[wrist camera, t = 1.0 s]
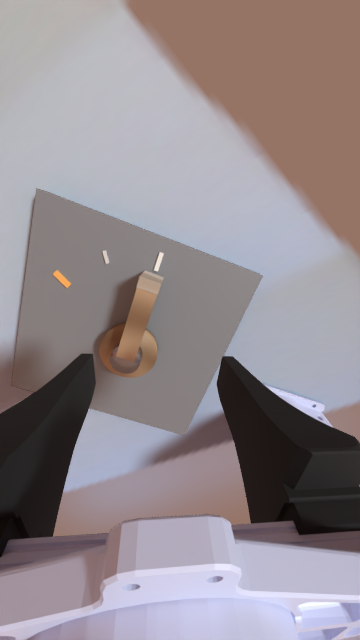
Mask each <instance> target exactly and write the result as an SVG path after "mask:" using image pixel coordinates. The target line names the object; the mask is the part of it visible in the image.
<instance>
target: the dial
mask: <svg viewBox="0 0 360 640" xmlns="http://www.w3.org/2000/svg"><path fill="white" fill-rule="evenodd" d="M163 279H164V277H162V276H159V275H156V274H154V273H151V272H148V271H144V272H143V273H142V274H141V275H140V277H139V280H138V283H137V289H136V292H135V295H134V299H133V302H132V305H131V308H130V312H129V315H128V318H127V322H126V323H120V324H117V325H115V326H113V327H112V328H111V329H110V330H109V331H108V332H107V333H106V335H105V336H104V337H103V339H102V341H101V343H100V347H99V353H100V357H101V360H102V362H103V364H104V365H105V366H106V367H107V368H108V369H109V370H110V371H111V372H113V373H114V374H116V375H119V376H122V377H127V378H134V377H139V376H142V375H144V374H146V373H147V372H149V371H150V370H151V369H152V368H153V366H154V364H155V362H156V359H157V354H158V344H157V341H156V339H155V337H154V335H153V334H152V333H151V332H150V331H149V330H148V329H147V328H146V327H147V324H148V321H149V318H150V315H151V312H152V309H153V307H154V304H155V301H156V298H157V295H158V293H159V290H160V288H161V285H162V282H163Z"/></svg>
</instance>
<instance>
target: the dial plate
mask: <svg viewBox="0 0 360 640" xmlns="http://www.w3.org/2000/svg"><path fill="white" fill-rule="evenodd" d="M144 271H148V272H151V273H154V274H156V275H159V276H162V277H164V279H163V282H162V285H161V288H160V290H159V293H158V295H157V298H156V301H155V304H154V307H153V309H152V312H151V315H150V318H149V321H148V324H147V327H146V328H147V329H148V330H149V331H150V332H151V333H152V334H153V335H154V337H155V339H156V341H157V344H158V354H157V359H156V362H155V364H154V366H153V368H152V369H151V370H150V371H149V372H147V373H146V374H144V375H142V376H139V377H134V378H127V377H122V376H119V375H116V374H114V373H113V372H111V371H110V370H109V369H108V368H107V367H106V366H105V365H104V364H103V362H102V360H101V357H100V353H99V347H100V343H101V341H102V339H103V337H104V336H105V335H106V333H107V332H108V331H109V330H110V329H111V328H112V327H113V326H115V325H117V324H120V323H126V322H127V318H128V315H129V312H130V308H131V305H132V302H133V299H134V295H135V292H136V289H137V283H138V280H139V277H140V275H141V274H142V273H143V272H144ZM262 277H263V276H262V275H260V274H259V273H256V272H254V271H251V270H248V269H246V268H243V267H241V266H238V265H235V264H233V263H230V262H228V261H225V260H223V259H220V258H217V257H215V256H212V255H210V254H207V253H204V252H202V251H199V250H197V249H194V248H191V247H189V246H186V245H184V244H181V243H179V242H176V241H173V240H171V239H168V238H166V237H163V236H160V235H158V234H155V233H153V232H150V231H148V230H145V229H142V228H140V227H137V226H135V225H132V224H129V223H127V222H124V221H122V220H119V219H117V218H114V217H111V216H109V215H106V214H104V213H101V212H98V211H96V210H93V209H91V208H88V207H85V206H83V205H80V204H78V203H75V202H73V201H70V200H67V199H65V198H62V197H60V196H57V195H54V194H52V193H49V192H47V191H44V190H40V189H37V188H36V195H35V203H34V211H33V218H32V226H31V234H30V242H29V250H28V257H27V265H26V273H25V281H24V288H23V296H22V304H21V312H20V320H19V327H18V335H17V343H16V351H15V358H14V366H13V374H12V382H11V386H14V387H17V388H21V389H24V390H28V391H31V392H36V391H37V390H39V389H40V388H41V387H43V386H44V385H45V384H46V383H48V382H49V381H50V380H52V379H53V378H54V377H55V376H56V375H58V374H59V373H60V372H61V371H62V370H63V369H64V368H66V367H67V366H68V365H69V364H70V363H71V362H72V361H73V360H74V359H76V358H77V357H78V356H79V355H80V354H81V353H82V354H93V358H94V369H95V379H96V385H95V389H94V394H93V398H92V401H91V404H90V406H89V408H91V409H94V410H97V411H101V412H104V413H108V414H111V415H115V416H118V417H122V418H125V419H129V420H132V421H136V422H139V423H143V424H146V425H150V426H153V427H157V428H160V429H164V430H167V431H171V432H174V433H177V434H181V435H185V433H186V431H187V429H188V427H189V425H190V423H191V421H192V419H193V417H194V415H195V413H196V411H197V409H198V407H199V405H200V403H201V400H202V398H203V396H204V394H205V392H206V390H207V388H208V386H209V384H210V382H211V380H212V378H213V376H214V374H215V372H216V370H217V368H218V366H219V364H220V362H221V360H222V356H224V354H225V352H226V350H227V348H228V346H229V344H230V342H231V340H232V338H233V336H234V334H235V332H236V330H237V328H238V326H239V324H240V322H241V319H242V317H243V315H244V313H245V311H246V309H247V307H248V305H249V303H250V301H251V299H252V297H253V295H254V293H255V291H256V289H257V287H258V285H259V283H260V281H261V279H262Z"/></svg>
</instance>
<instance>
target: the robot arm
mask: <svg viewBox="0 0 360 640" xmlns="http://www.w3.org/2000/svg"><path fill="white" fill-rule="evenodd" d="M95 385H96V379H95V369H94V358H93V354H82V353H81V354H80V355H79V356H78V357H77V358H76V359H74V360H73V361H72V362H71V363H70V364H69V365H68V366H67V367H66V368H64V369H63V370H62V371H61V372H60V373H59V374H58V375H56V376H55V377H54V378H53V379H52V380H50V381H49V382H48V383H46V384H45V385H44V386H43V387H41V388H40V389H39V390H37V391H36V392H35V393H33V394H32V395H30V396H29V397H27V398H26V399H24V400H23V401H21V402H19V403H18V404H16V405H15V406H13V407H11V408H9V409H8V410H6V411H4V412H2V413H1V414H0V640H360V443H359V441H358V440H357V439H356V438H355V437H353V436H351V435H349V434H347V433H344V432H342V431H339V430H337V429H335V428H333V427H332V426H331V424H330V423H329V422H328V420H327V419H326V418H325V416H324V415H323V414H322V412H323V410H324V409H325V406H324V405H323V404H322V403H319V402H316V401H313V400H310V399H307V398H304V397H301V396H298V395H295V394H291V393H288V392H285V391H282V390H279V389H276V388H273V387H270V386H267V385H264V384H262V383H261V382H260V381H259V380H258V379H256V378H255V377H254V376H253V375H252V374H251V373H250V372H249V371H248V370H247V369H246V368H244V367H243V366H242V365H241V364H240V363H239V362H238V361H237V360H236V359H235V358H234V357H230V356H222V360H221V365H220V370H219V375H218V380H217V388H218V393H219V397H220V401H221V404H222V407H223V410H224V413H225V416H226V419H227V422H228V425H229V427H230V430H231V433H232V436H233V440H234V443H235V447H236V451H237V455H238V459H239V463H240V468H241V472H242V477H243V482H244V487H245V492H246V497H247V503H248V508H249V514H250V520H251V524H238V525H231V523H230V522H229V521H228V520H226V519H225V518H223V517H221V516H219V515H209V514H203V515H186V516H169V517H152V518H138V519H133V520H128V521H123V522H122V523H120V524H118V525H117V526H115V527H113V528H112V529H111V530H110V533H102V534H87V535H74V536H73V535H72V536H56V537H53V533H54V528H55V523H56V519H57V514H58V510H59V506H60V501H61V497H62V493H63V489H64V485H65V481H66V477H67V473H68V469H69V465H70V462H71V458H72V454H73V451H74V447H75V444H76V441H77V438H78V435H79V433H80V430H81V428H82V425H83V422H84V420H85V417H86V414H87V412H88V409H89V406H90V404H91V401H92V398H93V394H94V389H95ZM312 405H313V406H312Z"/></svg>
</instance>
